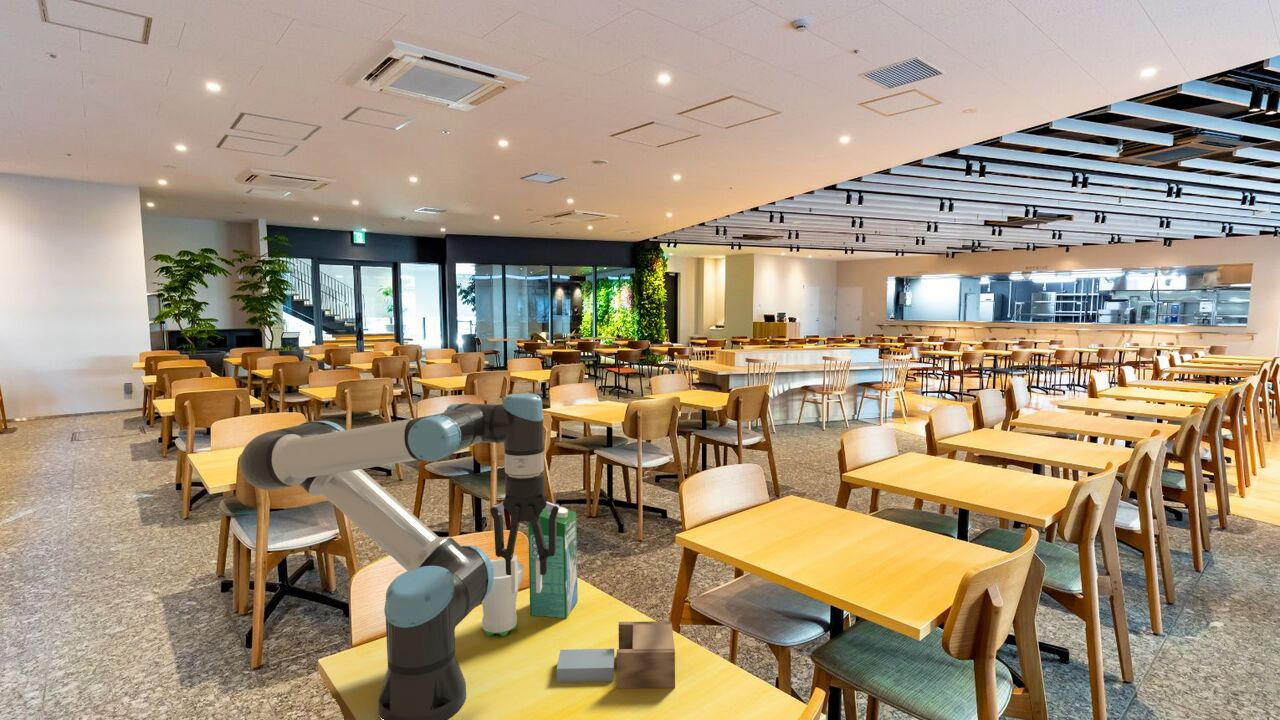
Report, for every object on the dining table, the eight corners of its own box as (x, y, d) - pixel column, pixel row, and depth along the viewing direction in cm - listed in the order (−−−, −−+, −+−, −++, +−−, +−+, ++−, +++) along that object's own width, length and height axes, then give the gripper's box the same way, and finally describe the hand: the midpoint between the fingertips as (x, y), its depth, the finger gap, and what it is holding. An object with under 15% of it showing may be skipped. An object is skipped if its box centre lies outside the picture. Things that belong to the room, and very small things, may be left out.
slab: (556, 683, 120) (556, 668, 120) (560, 663, 127) (560, 649, 127) (613, 682, 121) (613, 667, 120) (614, 662, 128) (614, 648, 127)
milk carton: (566, 618, 146) (564, 514, 144) (529, 615, 147) (527, 511, 146) (577, 601, 154) (576, 502, 153) (543, 598, 156) (541, 500, 155)
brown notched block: (617, 688, 118) (616, 652, 117) (619, 654, 130) (618, 621, 129) (675, 687, 118) (674, 652, 118) (671, 653, 130) (671, 621, 130)
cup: (535, 625, 143) (534, 564, 142) (501, 647, 133) (499, 582, 132) (498, 613, 148) (497, 555, 148) (463, 633, 139) (461, 571, 138)
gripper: (475, 478, 118) (478, 599, 119) (566, 477, 118) (568, 598, 119) (485, 469, 125) (487, 582, 127) (570, 468, 125) (572, 581, 127)
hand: (527, 589), depth 123 cm, fingers open, 4 cm apart
